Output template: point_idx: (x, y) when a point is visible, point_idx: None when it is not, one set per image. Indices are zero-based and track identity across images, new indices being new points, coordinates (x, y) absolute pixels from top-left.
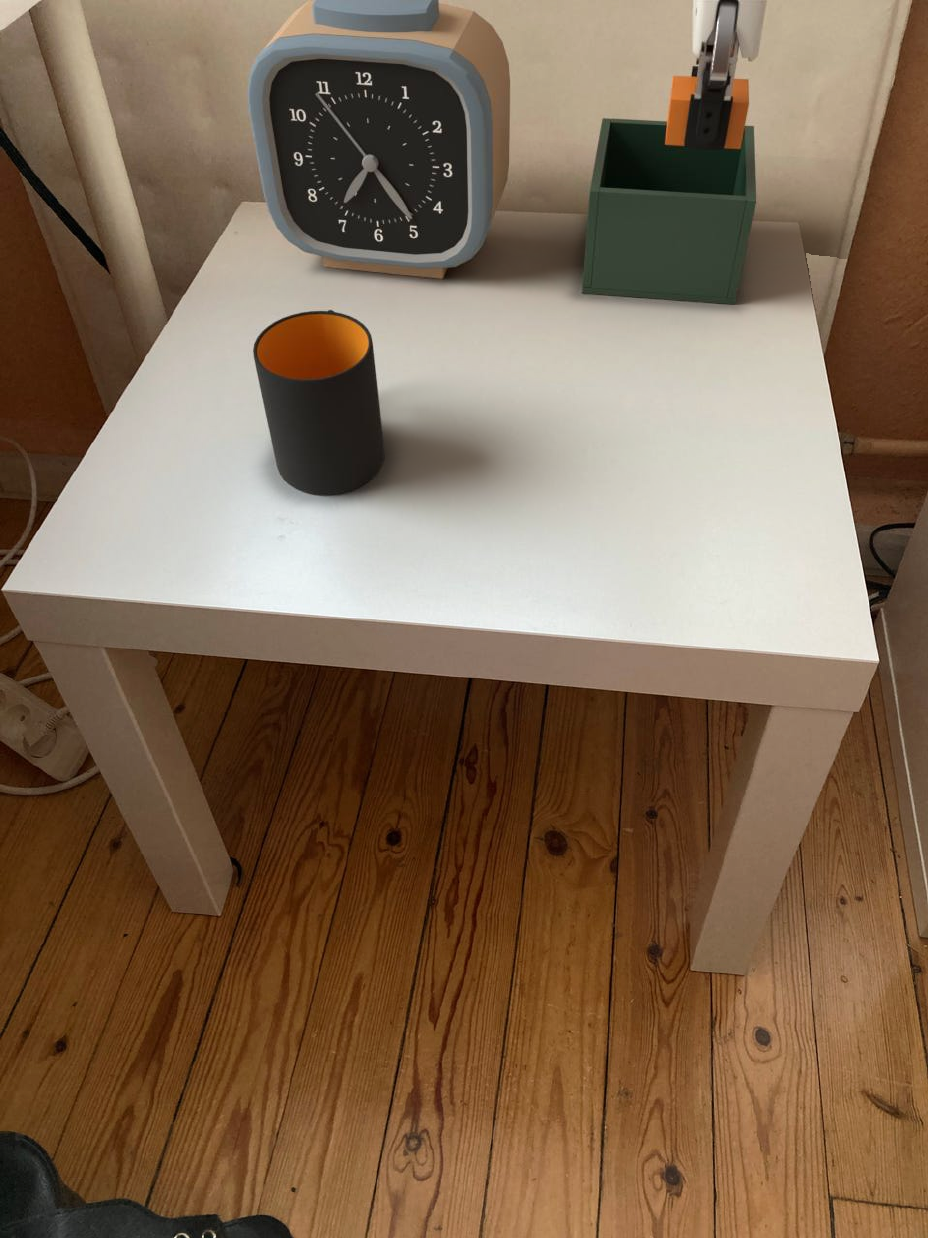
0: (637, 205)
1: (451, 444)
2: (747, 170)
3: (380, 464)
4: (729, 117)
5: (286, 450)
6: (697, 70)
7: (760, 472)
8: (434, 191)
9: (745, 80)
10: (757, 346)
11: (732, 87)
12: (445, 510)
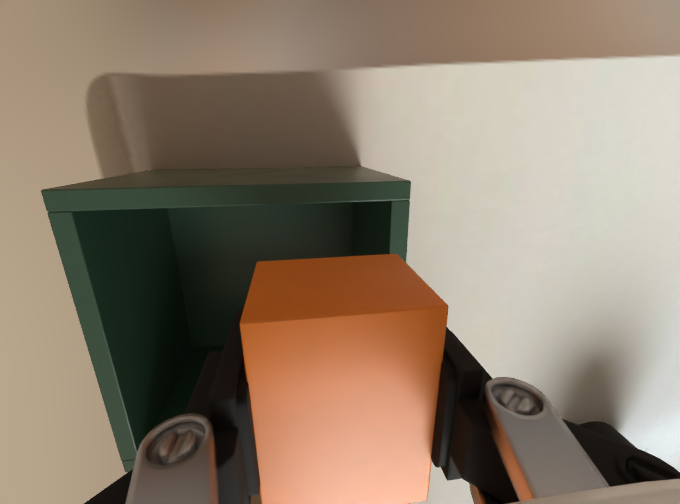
0: None
1: (575, 387)
2: (285, 201)
3: (599, 424)
4: (452, 334)
5: None
6: (250, 492)
7: (643, 136)
8: None
9: (255, 331)
10: (446, 137)
11: (559, 417)
12: (641, 373)
